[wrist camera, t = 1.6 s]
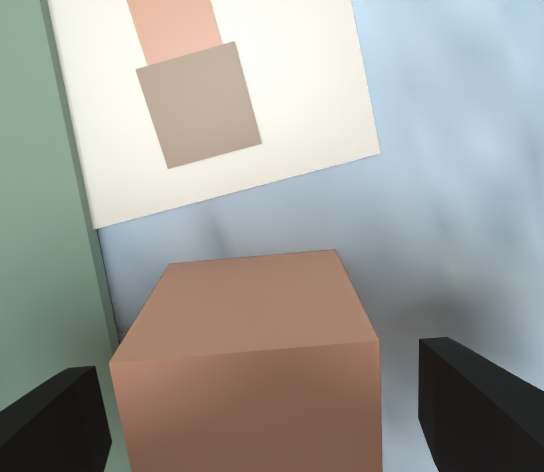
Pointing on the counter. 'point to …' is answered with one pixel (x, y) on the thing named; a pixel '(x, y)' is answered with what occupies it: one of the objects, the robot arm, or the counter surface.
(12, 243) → the plate
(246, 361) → the terracotta brick
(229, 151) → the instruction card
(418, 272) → the counter surface
